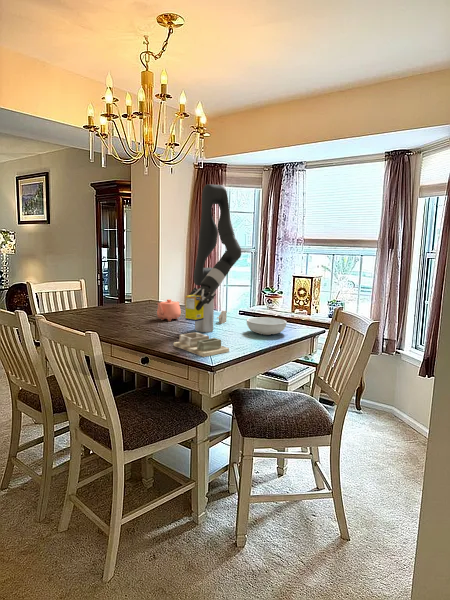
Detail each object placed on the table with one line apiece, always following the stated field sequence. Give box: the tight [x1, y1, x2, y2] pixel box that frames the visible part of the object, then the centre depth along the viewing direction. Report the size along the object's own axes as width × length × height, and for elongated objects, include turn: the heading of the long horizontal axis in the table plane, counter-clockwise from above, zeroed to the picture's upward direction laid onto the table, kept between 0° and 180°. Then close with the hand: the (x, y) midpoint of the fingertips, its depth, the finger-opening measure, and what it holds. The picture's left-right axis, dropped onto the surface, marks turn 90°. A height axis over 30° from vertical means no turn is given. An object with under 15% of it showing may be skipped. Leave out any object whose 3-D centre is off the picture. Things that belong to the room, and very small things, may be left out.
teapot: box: [156, 298, 182, 322], centre depth 246 cm, size 20×12×12 cm, turn 148°
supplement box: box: [184, 295, 204, 322], centre depth 185 cm, size 6×6×11 cm
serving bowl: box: [246, 316, 287, 336], centre depth 218 cm, size 21×21×7 cm
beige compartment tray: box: [173, 331, 230, 358], centre depth 184 cm, size 22×14×5 cm, turn 41°
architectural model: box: [216, 310, 228, 325], centre depth 242 cm, size 3×7×7 cm, turn 153°
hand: (191, 308), depth 184 cm, fingers closed on supplement box, 7 cm apart
